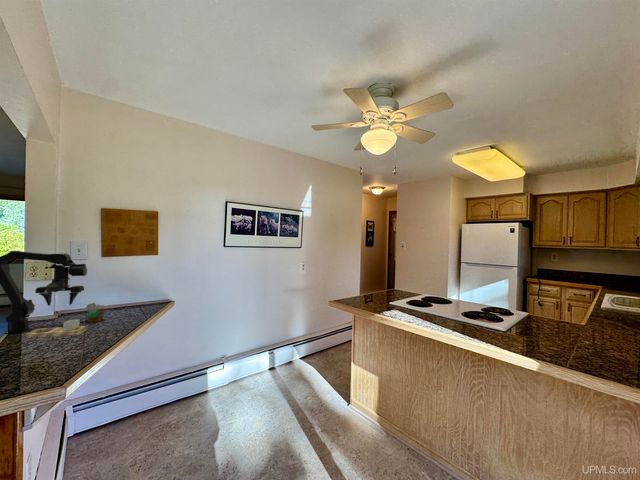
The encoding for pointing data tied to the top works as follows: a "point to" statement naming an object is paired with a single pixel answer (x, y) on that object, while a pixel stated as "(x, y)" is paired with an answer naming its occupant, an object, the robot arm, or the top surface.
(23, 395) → the top surface
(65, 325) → the nut block
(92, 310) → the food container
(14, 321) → the robot arm
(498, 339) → the top surface
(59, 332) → the rail
